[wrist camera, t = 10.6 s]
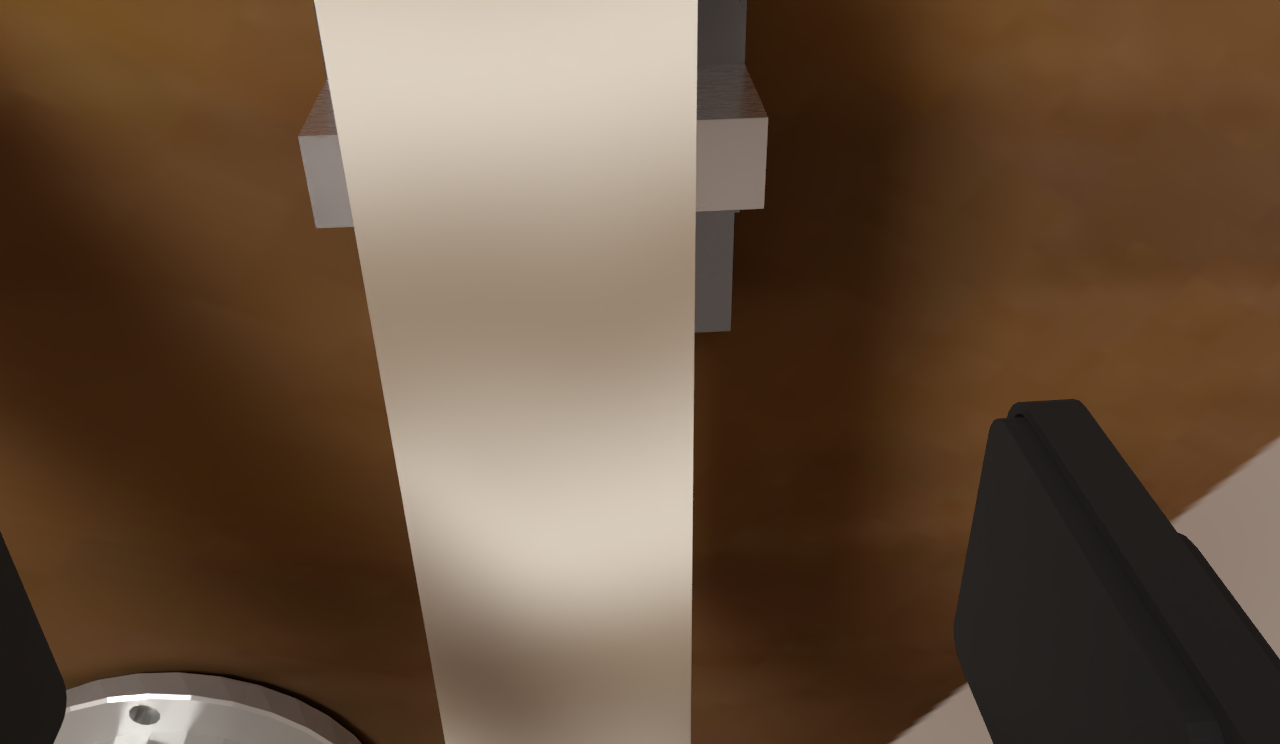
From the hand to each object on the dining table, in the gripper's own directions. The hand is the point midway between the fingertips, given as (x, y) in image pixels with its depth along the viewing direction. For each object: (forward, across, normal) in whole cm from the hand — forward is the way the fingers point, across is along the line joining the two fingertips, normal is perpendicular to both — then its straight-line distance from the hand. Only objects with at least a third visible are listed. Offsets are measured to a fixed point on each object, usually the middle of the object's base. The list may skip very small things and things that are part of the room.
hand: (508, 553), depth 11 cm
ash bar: (+8, 0, 0) cm, 8 cm away
